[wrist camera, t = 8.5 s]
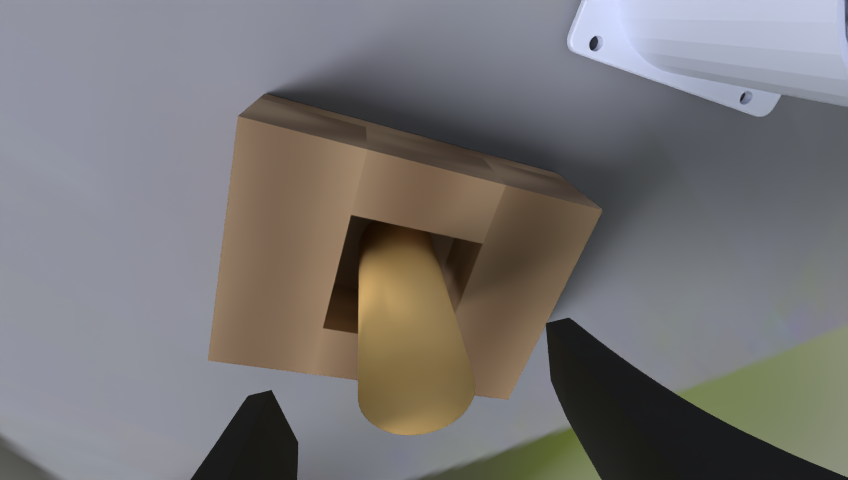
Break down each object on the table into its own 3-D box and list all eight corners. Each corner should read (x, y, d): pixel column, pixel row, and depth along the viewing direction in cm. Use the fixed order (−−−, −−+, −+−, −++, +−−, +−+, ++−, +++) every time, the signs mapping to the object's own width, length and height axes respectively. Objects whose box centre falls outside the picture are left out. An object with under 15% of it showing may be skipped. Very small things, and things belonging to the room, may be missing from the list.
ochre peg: (444, 231, 18) (497, 368, 11) (410, 287, 19) (439, 445, 12) (378, 202, 17) (391, 331, 10) (346, 262, 18) (338, 418, 11)
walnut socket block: (557, 173, 19) (602, 210, 15) (484, 338, 23) (508, 399, 19) (265, 93, 16) (238, 116, 13) (235, 298, 20) (208, 360, 16)
